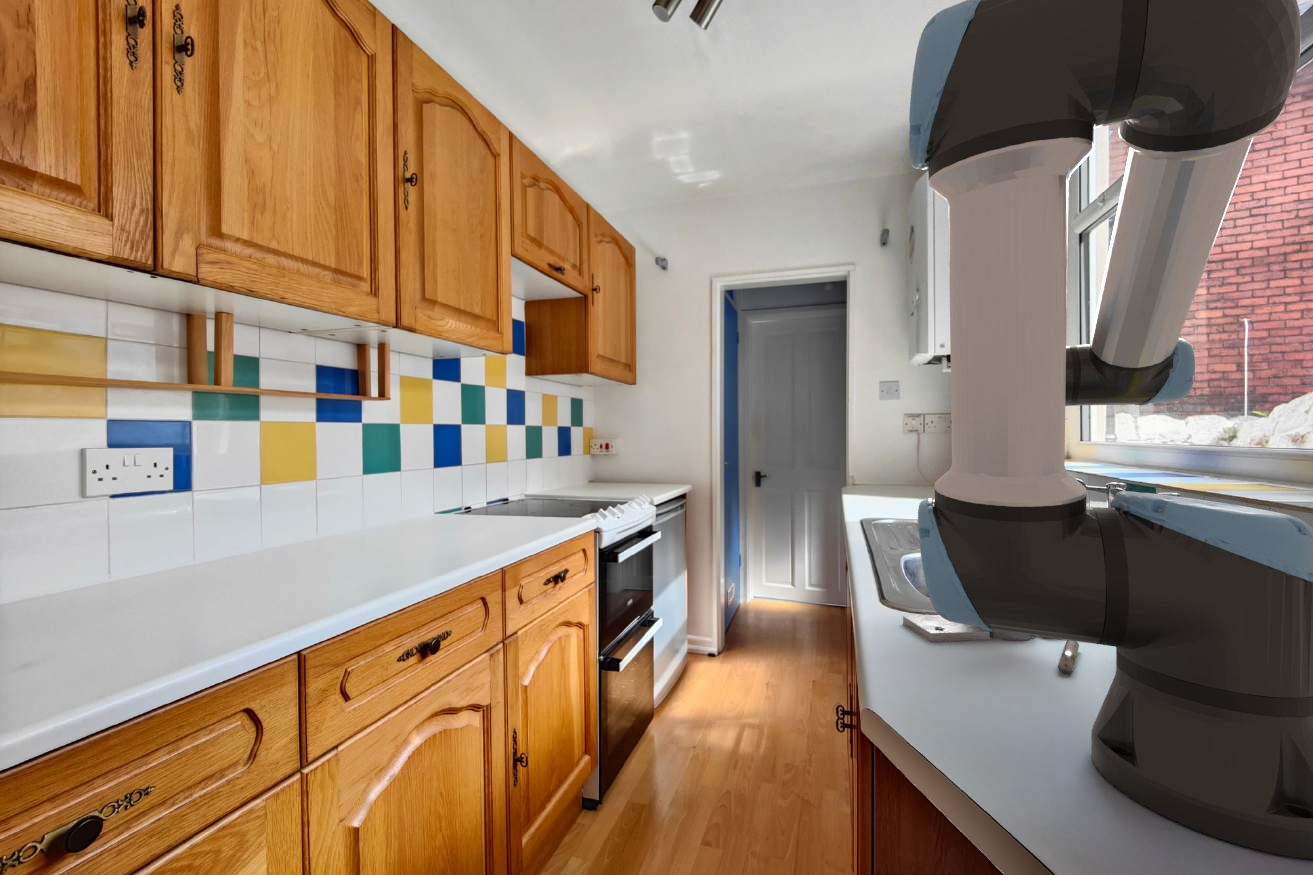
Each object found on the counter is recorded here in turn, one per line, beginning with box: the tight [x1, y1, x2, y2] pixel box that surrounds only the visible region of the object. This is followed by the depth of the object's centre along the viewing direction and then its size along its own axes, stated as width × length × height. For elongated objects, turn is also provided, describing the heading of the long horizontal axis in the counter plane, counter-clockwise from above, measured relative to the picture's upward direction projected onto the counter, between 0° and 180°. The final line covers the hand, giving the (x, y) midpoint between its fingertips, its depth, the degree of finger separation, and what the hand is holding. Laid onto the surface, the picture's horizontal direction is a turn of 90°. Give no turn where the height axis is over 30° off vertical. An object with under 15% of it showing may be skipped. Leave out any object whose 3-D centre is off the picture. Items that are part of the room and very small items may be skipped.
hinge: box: [902, 614, 1050, 643], centre depth 81 cm, size 25×8×2 cm, turn 94°
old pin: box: [1057, 640, 1080, 675], centre depth 70 cm, size 10×1×1 cm, turn 139°
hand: (999, 596), depth 81 cm, fingers open, 13 cm apart
